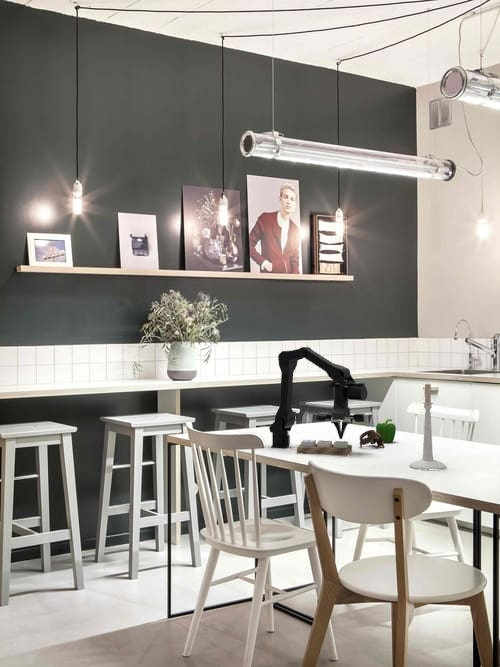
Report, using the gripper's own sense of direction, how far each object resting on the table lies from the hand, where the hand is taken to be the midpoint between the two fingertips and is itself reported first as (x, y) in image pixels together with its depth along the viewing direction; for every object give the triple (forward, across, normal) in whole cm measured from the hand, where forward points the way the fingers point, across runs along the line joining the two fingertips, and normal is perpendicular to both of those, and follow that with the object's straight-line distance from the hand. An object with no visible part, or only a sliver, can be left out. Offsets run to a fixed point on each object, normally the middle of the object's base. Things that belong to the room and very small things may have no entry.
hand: (340, 439), depth 338 cm
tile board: (+5, -6, 0) cm, 8 cm away
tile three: (+4, 0, 0) cm, 4 cm away
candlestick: (+6, +34, -26) cm, 44 cm away
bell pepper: (+6, +15, +33) cm, 37 cm away
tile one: (+4, -13, 0) cm, 13 cm away
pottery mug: (+6, +10, +18) cm, 21 cm away
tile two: (+4, -6, 0) cm, 7 cm away
